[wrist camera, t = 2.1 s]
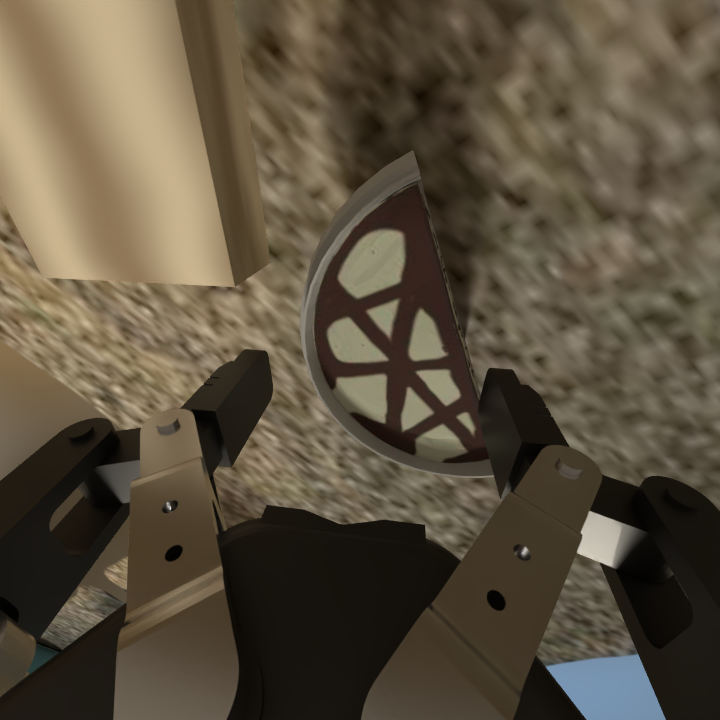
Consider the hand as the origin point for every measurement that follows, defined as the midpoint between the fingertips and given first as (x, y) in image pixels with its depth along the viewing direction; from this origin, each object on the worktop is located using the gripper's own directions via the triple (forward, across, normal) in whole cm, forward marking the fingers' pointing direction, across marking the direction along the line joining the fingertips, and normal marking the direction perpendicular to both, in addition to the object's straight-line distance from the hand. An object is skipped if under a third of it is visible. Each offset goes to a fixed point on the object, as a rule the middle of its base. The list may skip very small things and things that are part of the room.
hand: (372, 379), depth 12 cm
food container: (+10, -1, 0) cm, 10 cm away
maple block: (+10, +13, -10) cm, 19 cm away
